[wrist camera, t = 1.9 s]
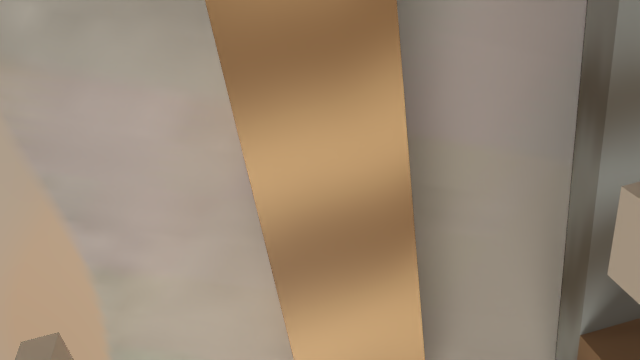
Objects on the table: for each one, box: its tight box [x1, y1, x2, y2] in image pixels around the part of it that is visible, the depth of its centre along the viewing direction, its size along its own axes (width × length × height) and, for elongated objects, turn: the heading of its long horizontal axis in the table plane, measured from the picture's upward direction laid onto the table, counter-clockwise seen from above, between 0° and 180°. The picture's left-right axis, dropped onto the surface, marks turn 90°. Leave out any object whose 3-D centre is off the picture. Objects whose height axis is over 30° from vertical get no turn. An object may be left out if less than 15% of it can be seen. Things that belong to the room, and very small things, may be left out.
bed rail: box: [205, 0, 425, 360], centre depth 17 cm, size 28×4×5 cm, turn 9°
